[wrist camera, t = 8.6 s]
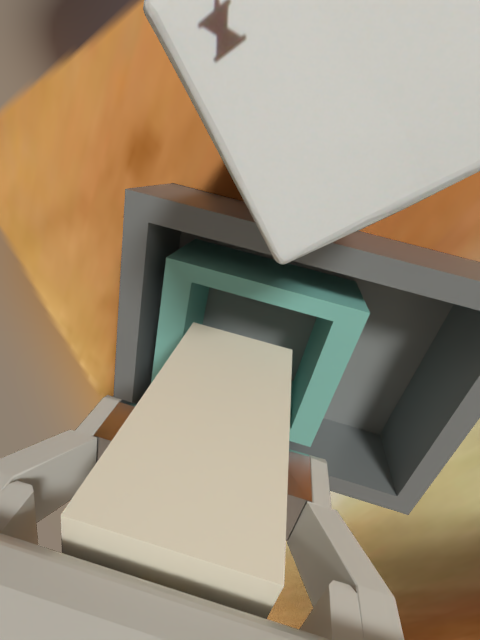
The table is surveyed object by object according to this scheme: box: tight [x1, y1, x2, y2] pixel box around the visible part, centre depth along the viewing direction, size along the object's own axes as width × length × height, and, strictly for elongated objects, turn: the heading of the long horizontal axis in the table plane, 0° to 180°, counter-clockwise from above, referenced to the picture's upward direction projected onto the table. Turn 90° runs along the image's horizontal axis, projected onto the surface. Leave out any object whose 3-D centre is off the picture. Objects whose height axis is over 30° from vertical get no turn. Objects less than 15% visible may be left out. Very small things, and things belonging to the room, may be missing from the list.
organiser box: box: [114, 183, 480, 515], centre depth 17 cm, size 16×12×5 cm
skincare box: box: [143, 0, 480, 264], centre depth 9 cm, size 6×4×12 cm
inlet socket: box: [151, 239, 370, 447], centre depth 17 cm, size 8×8×4 cm
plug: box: [61, 322, 292, 619], centre depth 10 cm, size 4×4×9 cm
